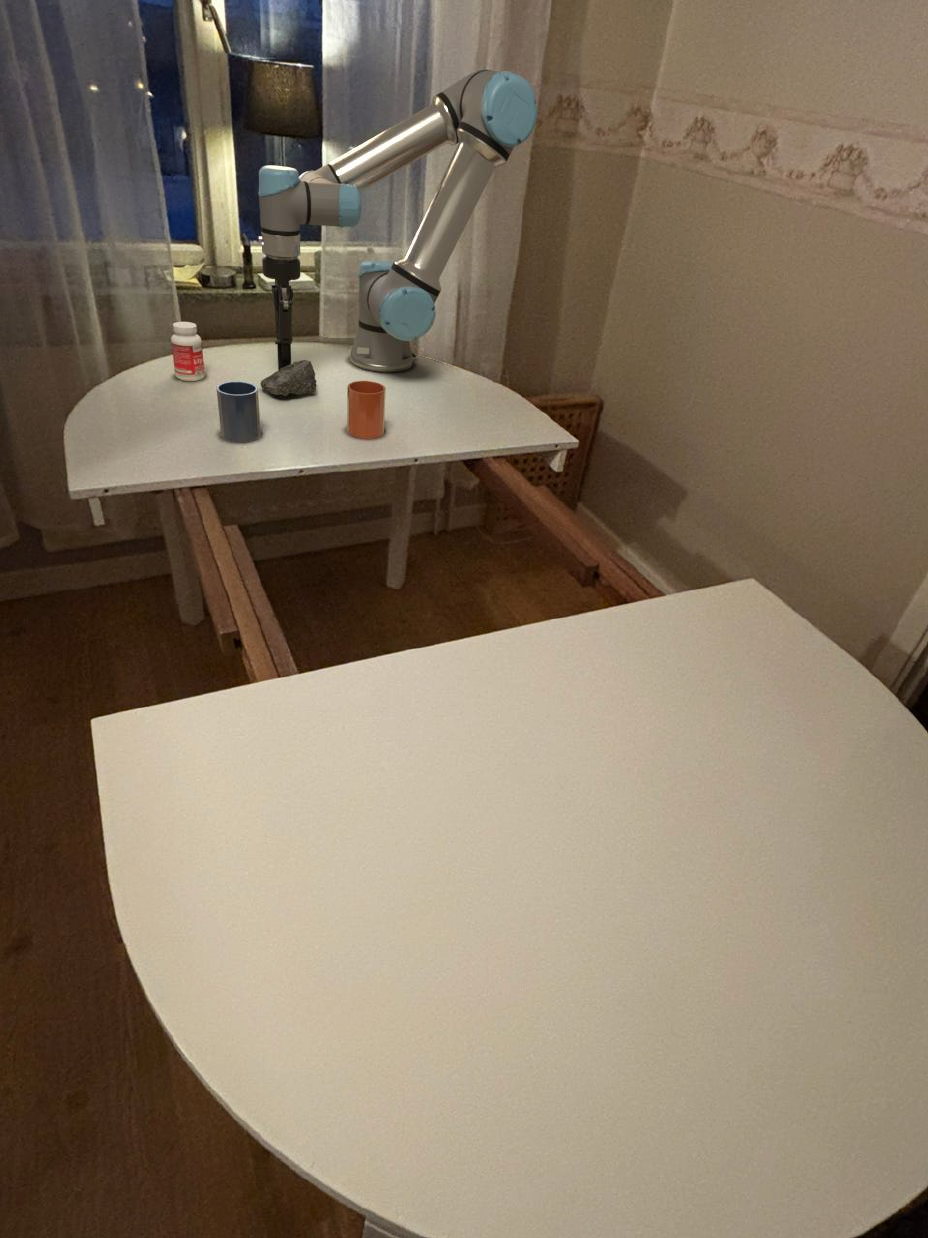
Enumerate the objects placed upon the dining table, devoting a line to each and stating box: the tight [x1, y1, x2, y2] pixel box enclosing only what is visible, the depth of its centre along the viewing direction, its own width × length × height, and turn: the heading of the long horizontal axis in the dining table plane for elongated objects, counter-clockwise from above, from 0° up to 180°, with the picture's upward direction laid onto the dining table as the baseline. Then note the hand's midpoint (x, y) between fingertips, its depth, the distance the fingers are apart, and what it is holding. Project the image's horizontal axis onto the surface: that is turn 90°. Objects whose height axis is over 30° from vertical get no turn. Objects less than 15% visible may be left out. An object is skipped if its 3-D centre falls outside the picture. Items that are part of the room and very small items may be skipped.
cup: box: [216, 380, 262, 444], centre depth 137 cm, size 7×7×9 cm
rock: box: [260, 359, 318, 397], centre depth 158 cm, size 9×11×6 cm
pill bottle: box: [170, 321, 206, 382], centre depth 158 cm, size 6×6×11 cm
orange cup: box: [346, 380, 387, 440], centre depth 145 cm, size 7×7×9 cm
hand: (284, 372), depth 162 cm, fingers closed
